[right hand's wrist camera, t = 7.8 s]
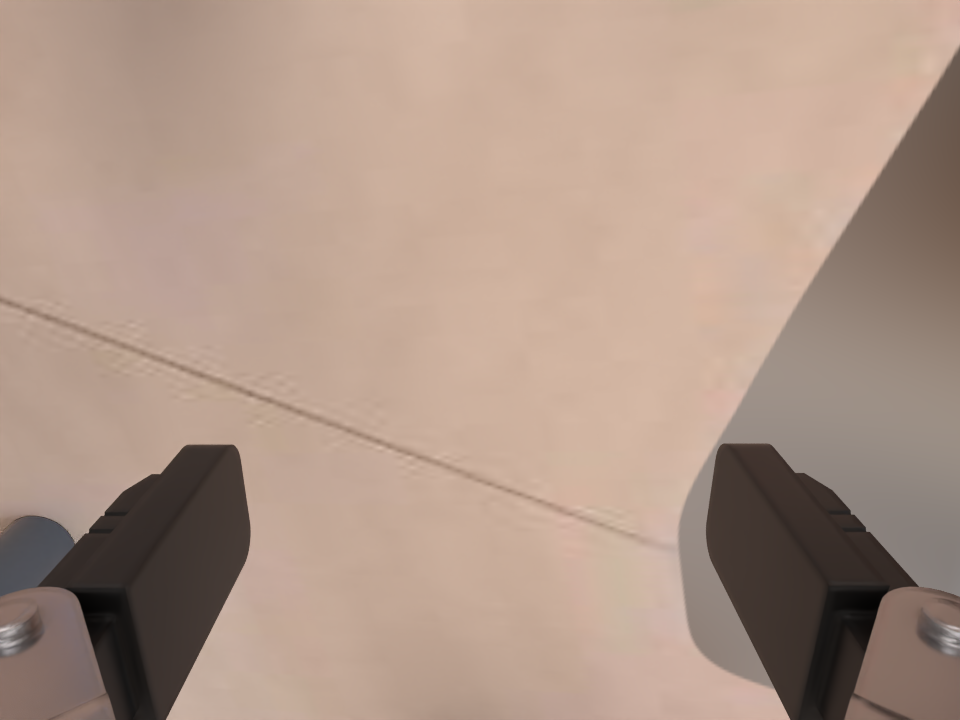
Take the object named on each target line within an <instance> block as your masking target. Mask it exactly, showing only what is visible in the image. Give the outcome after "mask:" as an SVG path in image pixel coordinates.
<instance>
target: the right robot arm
mask: <svg viewBox="0 0 960 720" xmlns="http://www.w3.org/2000/svg"><path fill="white" fill-rule="evenodd" d="M706 539H707V547H708V552H709V556H710V559H711V561H712V564H713V566H714V568H715V570H716V572H717V573H718V576H719V578H720V580H721V582H722V584H723V586H724V588H725V590H726V592H727V594H728V596H729V598H730V600H731V602H732V604H733V606H734V608H735V610H736V612H737V614H738V616H739V618H740V620H741V622H742V624H743V626H744V628H745V630H746V632H747V634H748V636H749V638H750V640H751V642H752V644H753V646H754V648H755V650H756V652H757V654H758V656H759V658H760V660H761V662H762V664H763V666H764V668H765V670H766V672H767V674H768V676H769V678H770V680H771V682H772V684H773V686H774V688H775V690H776V692H777V694H778V696H779V698H780V700H781V702H782V704H783V706H784V708H785V710H786V712H787V714H788V716H789V718H790V720H960V597H958V596H956V595H953V594H950V593H947V592H944V591H940V590H935V589H931V588H924V587H919V586H918V585H917V584H916V583H915V582H914V581H913V580H912V579H911V577H910V576H909V575H908V574H907V573H906V572H905V571H904V570H903V568H902V567H901V566H900V565H899V564H898V563H897V562H896V561H895V560H894V558H893V557H892V556H891V555H890V554H889V553H888V552H887V551H886V550H885V548H884V547H883V546H882V545H881V544H880V543H879V542H878V541H877V540H876V538H875V537H874V536H873V535H872V534H871V533H870V532H866V527H865V526H864V525H863V524H862V523H861V522H860V521H859V519H858V518H857V517H856V516H855V515H851V511H850V509H849V508H848V507H847V506H846V505H845V504H844V503H843V502H842V501H841V499H840V498H839V497H838V496H837V495H836V494H835V493H834V492H833V491H832V490H831V489H829V488H828V487H826V486H824V485H823V484H821V483H819V482H818V481H816V480H814V479H813V478H811V477H810V476H808V475H806V474H805V473H795V472H794V471H793V470H792V469H791V467H790V466H789V465H788V464H787V463H786V462H785V460H784V459H783V458H782V457H781V456H780V454H779V453H778V452H777V451H776V450H775V448H774V447H773V446H772V445H770V444H722V445H721V446H720V447H719V449H718V451H717V455H716V460H715V467H714V474H713V481H712V488H711V495H710V502H709V509H708V516H707V523H706ZM249 545H250V520H249V513H248V507H247V500H246V493H245V486H244V479H243V472H242V465H241V459H240V455H239V452H238V449H237V448H236V447H235V446H234V445H186V446H184V447H183V448H182V450H181V451H180V452H179V453H178V454H177V455H176V457H175V458H174V459H173V460H172V461H171V462H170V464H169V465H168V466H167V467H166V468H165V470H164V471H163V472H162V473H161V474H151V475H150V476H148V477H147V478H145V479H143V480H142V481H140V482H138V483H137V484H135V485H133V486H132V487H130V488H129V489H127V490H125V491H124V492H122V494H121V495H120V496H119V497H118V498H117V499H116V500H115V501H114V502H113V504H112V505H111V506H110V507H109V508H108V509H107V510H106V511H105V515H104V516H101V517H100V518H99V519H98V520H97V521H96V522H95V523H94V524H93V526H92V527H91V528H90V529H89V534H84V536H83V537H82V538H81V539H80V540H79V541H78V542H77V543H76V544H75V545H74V547H73V548H72V549H71V550H70V551H69V552H68V553H67V554H66V555H65V556H64V558H63V559H62V560H61V561H60V562H59V563H58V564H57V565H56V566H55V568H54V569H53V570H52V571H51V572H50V573H49V574H48V575H47V576H46V577H45V579H44V580H43V581H42V582H41V583H40V584H39V585H38V586H37V587H36V588H29V589H24V590H20V591H16V592H13V593H10V594H7V595H4V596H1V597H0V720H166V718H167V716H168V714H169V712H170V710H171V708H172V706H173V704H174V702H175V700H176V698H177V696H178V694H179V692H180V690H181V688H182V686H183V685H184V683H185V681H186V679H187V677H188V675H189V673H190V671H191V669H192V667H193V665H194V663H195V661H196V659H197V657H198V655H199V653H200V651H201V649H202V647H203V645H204V643H205V641H206V639H207V637H208V635H209V633H210V631H211V629H212V627H213V625H214V623H215V621H216V619H217V617H218V615H219V613H220V611H221V609H222V607H223V605H224V603H225V601H226V599H227V598H228V596H229V594H230V592H231V590H232V588H233V586H234V584H235V582H236V580H237V578H238V576H239V574H240V572H241V570H242V568H243V566H244V564H245V561H246V559H247V555H248V551H249Z"/></svg>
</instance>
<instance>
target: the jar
mask: <svg viewBox="0 0 960 720" xmlns="http://www.w3.org/2000/svg"><path fill="white" fill-rule="evenodd" d="M73 547H74V542H73V539H72V538H71V536H70V535H69V533H68V532H67V531H66V530H65V529H64V528H63V527H62V526H60V525H59V524H57V523H56V522H54V521H52V520H49V519H47V518H43V517H38V516H27V517H22V518H19V519H17V520H15V521H13V522H12V523H11V524H10V525H9V526H8V527H7V528H5V529H4V530H3V531H2V532H1V533H0V597H1V596H4V595H7V594H10V593H13V592H16V591H20V590H24V589H29V588H36V587H37V586H38V585H39V584H40V583H41V582H42V581H43V580H44V579H45V577H46V576H47V575H48V574H49V573H50V572H51V571H52V570H53V569H54V568H55V566H56V565H57V564H58V563H59V562H60V561H61V560H62V559H63V558H64V556H65V555H66V554H67V553H68V552H69V551H70V550H71V549H72V548H73Z"/></svg>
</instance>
